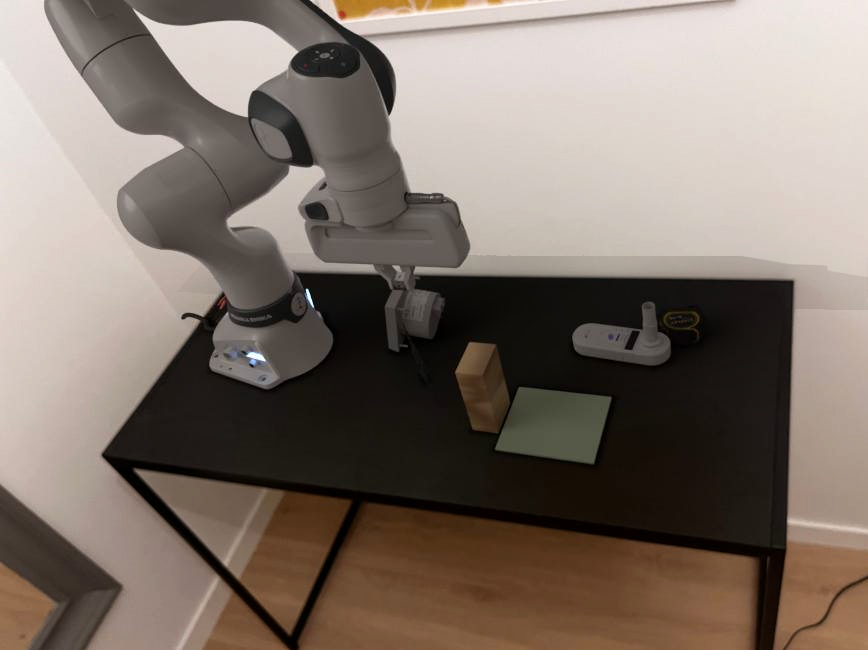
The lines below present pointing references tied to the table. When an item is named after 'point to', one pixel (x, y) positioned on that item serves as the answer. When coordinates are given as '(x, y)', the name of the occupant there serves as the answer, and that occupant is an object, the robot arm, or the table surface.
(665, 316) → the tape measure
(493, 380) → the block
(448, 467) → the table surface
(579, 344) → the electronic device
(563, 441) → the mat
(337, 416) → the table surface
